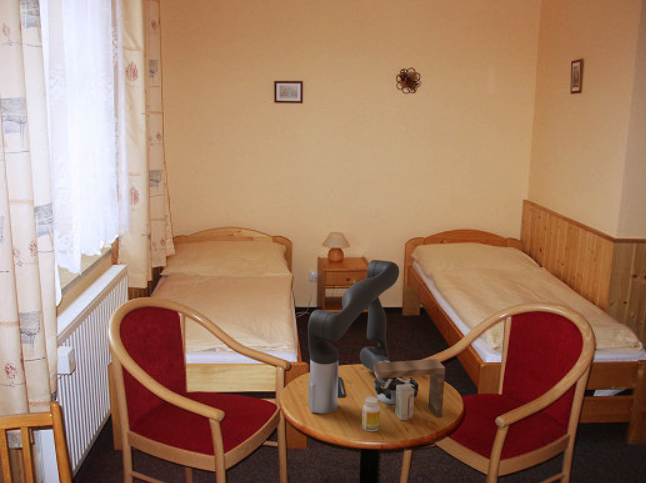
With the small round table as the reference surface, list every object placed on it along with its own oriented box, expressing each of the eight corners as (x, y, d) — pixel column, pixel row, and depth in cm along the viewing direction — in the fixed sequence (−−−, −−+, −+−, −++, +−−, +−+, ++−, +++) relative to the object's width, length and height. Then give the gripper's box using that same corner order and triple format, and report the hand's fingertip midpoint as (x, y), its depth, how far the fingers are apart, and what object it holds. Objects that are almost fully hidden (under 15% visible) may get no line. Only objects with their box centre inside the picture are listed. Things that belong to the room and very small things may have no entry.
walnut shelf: (377, 422, 194) (380, 372, 191) (371, 411, 201) (373, 363, 197) (441, 416, 199) (445, 367, 195) (433, 406, 205) (436, 358, 202)
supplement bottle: (358, 427, 191) (359, 398, 189) (370, 421, 195) (371, 393, 193) (370, 434, 188) (372, 405, 185) (382, 428, 191) (383, 399, 189)
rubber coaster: (381, 405, 205) (381, 404, 205) (373, 392, 215) (373, 390, 215) (410, 403, 207) (410, 401, 207) (400, 390, 217) (400, 388, 217)
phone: (341, 376, 225) (345, 395, 211) (341, 379, 226) (345, 398, 211) (319, 376, 225) (322, 395, 210) (319, 379, 225) (322, 398, 210)
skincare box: (413, 419, 197) (415, 390, 195) (400, 420, 196) (402, 391, 194) (407, 411, 202) (408, 383, 200) (394, 413, 201) (396, 384, 198)
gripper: (368, 366, 213) (382, 386, 197) (407, 363, 215) (424, 383, 200) (367, 386, 214) (381, 408, 199) (406, 383, 217) (423, 404, 202)
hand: (402, 395), depth 199 cm, fingers open, 8 cm apart
